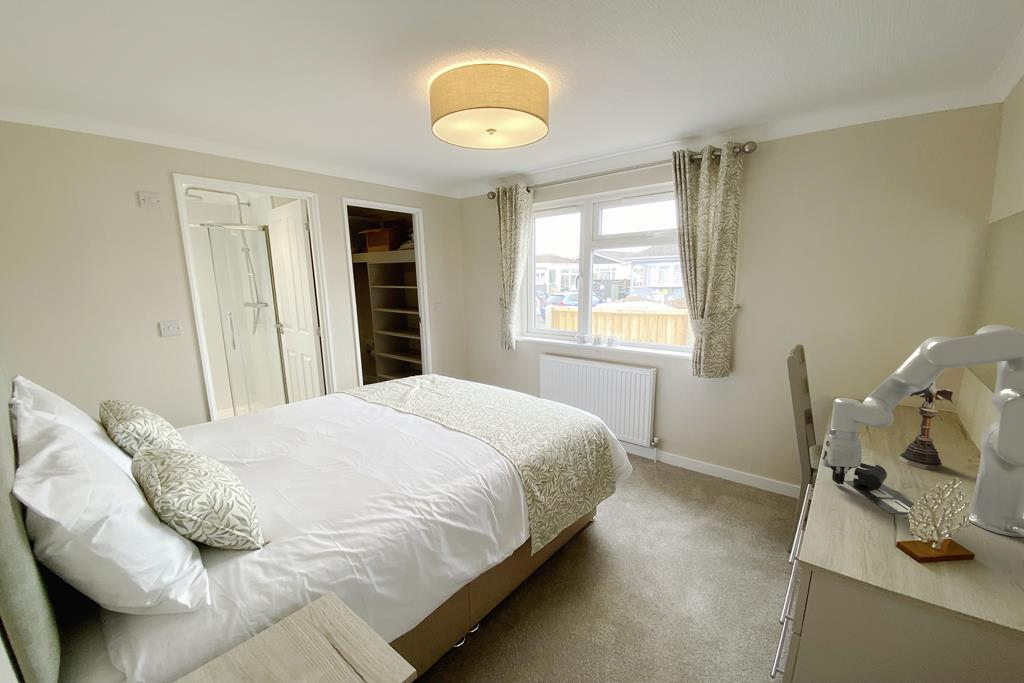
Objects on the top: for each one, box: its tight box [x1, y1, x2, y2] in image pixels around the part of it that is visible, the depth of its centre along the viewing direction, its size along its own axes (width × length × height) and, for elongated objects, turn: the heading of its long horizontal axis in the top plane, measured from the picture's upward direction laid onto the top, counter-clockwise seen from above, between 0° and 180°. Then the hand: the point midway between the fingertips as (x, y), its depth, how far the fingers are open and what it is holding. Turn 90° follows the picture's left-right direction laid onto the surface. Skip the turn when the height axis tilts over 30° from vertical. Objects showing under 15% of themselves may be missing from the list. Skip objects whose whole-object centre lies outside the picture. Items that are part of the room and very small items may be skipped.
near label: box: [881, 499, 911, 512], centre depth 126 cm, size 7×5×1 cm
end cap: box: [852, 462, 888, 491], centre depth 137 cm, size 10×7×7 cm
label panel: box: [844, 480, 915, 515], centre depth 131 cm, size 20×12×1 cm, turn 174°
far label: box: [869, 488, 894, 498], centre depth 136 cm, size 10×5×1 cm, turn 174°
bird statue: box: [898, 379, 954, 471], centre depth 153 cm, size 17×13×35 cm
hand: (837, 482), depth 139 cm, fingers closed
